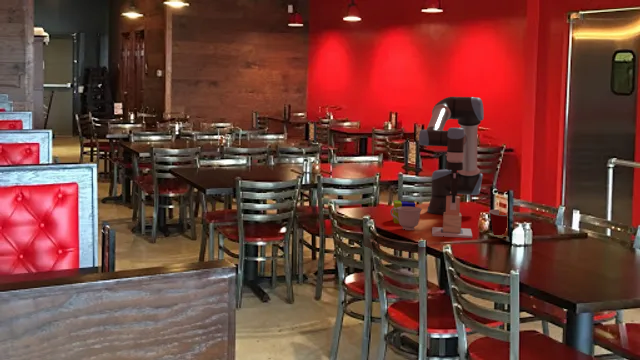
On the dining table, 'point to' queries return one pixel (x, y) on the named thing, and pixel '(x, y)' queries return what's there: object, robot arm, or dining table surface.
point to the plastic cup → (498, 222)
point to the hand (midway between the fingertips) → (452, 207)
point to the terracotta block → (448, 211)
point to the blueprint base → (439, 232)
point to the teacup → (407, 216)
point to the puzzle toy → (401, 204)
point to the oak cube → (452, 223)
